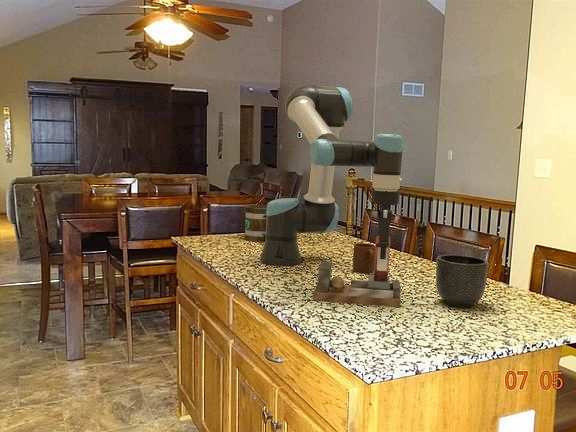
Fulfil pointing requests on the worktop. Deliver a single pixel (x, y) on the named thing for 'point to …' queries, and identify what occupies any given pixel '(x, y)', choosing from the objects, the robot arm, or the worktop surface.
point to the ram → (379, 273)
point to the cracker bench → (354, 291)
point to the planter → (461, 279)
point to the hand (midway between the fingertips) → (381, 265)
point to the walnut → (337, 282)
